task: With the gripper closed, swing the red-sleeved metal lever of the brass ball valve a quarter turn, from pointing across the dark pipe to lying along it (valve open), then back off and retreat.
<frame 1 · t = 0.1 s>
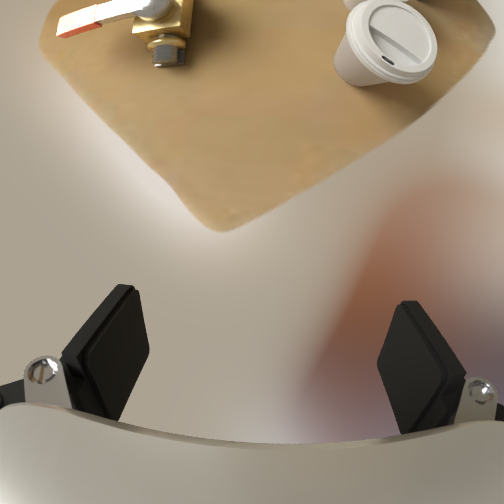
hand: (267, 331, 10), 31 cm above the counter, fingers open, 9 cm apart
lever: (110, 12, 22), point 9 cm above the counter, hinge at 0.0°
dixie cup: (361, 3, 27), on the counter
coffee cup: (356, 65, 32), on the counter
valve body: (174, 26, 30), on the counter
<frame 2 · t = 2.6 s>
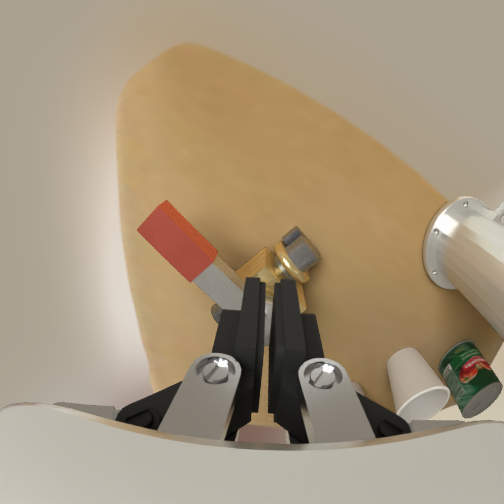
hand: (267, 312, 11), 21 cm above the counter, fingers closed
canned tomato: (456, 357, 39), on the counter
lever: (218, 280, 24), point 9 cm above the counter, hinge at 0.0°
dixie cup: (402, 360, 39), on the counter
valve body: (263, 273, 34), on the counter
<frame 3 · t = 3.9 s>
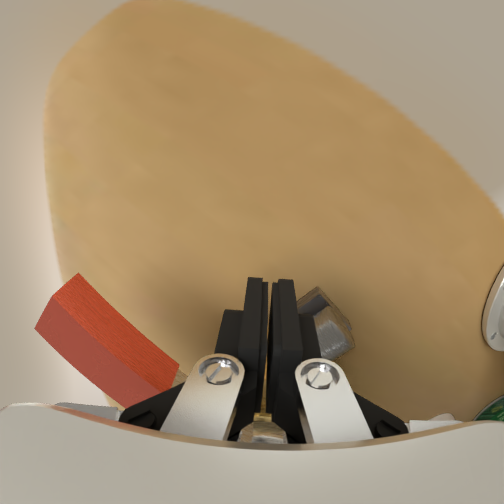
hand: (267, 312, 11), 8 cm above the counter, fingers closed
canned tomato: (490, 411, 26), on the counter
lever: (182, 409, 12), point 9 cm above the counter, hinge at 0.0°
valve body: (264, 350, 22), on the counter
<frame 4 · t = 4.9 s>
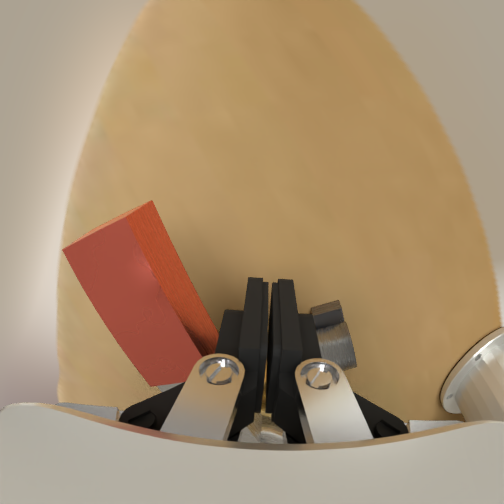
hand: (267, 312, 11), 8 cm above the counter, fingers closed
lever: (205, 390, 11), point 9 cm above the counter, hinge at 1.9°, touching gripper
valve body: (258, 344, 21), on the counter
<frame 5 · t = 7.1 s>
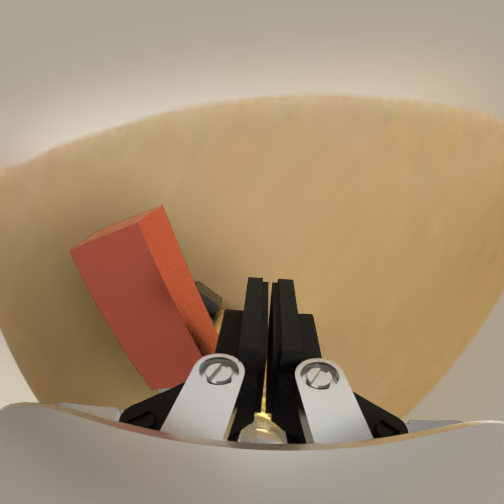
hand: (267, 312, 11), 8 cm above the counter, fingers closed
lever: (204, 394, 11), point 9 cm above the counter, hinge at 57.6°, touching gripper
valve body: (254, 348, 22), on the counter
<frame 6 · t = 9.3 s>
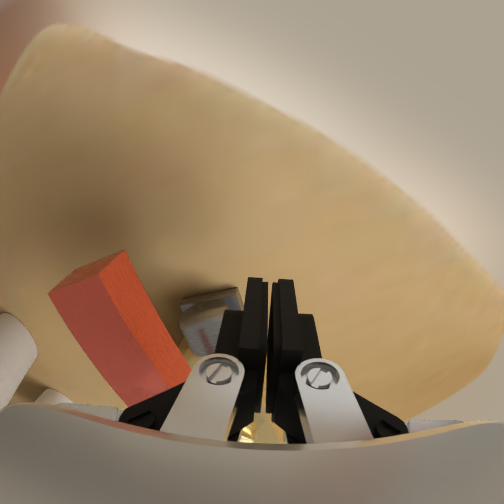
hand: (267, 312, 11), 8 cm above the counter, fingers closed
lever: (177, 411, 12), point 9 cm above the counter, hinge at 94.3°
dixie cup: (62, 402, 28), on the counter
coffee cup: (18, 335, 24), on the counter
valve body: (236, 361, 22), on the counter
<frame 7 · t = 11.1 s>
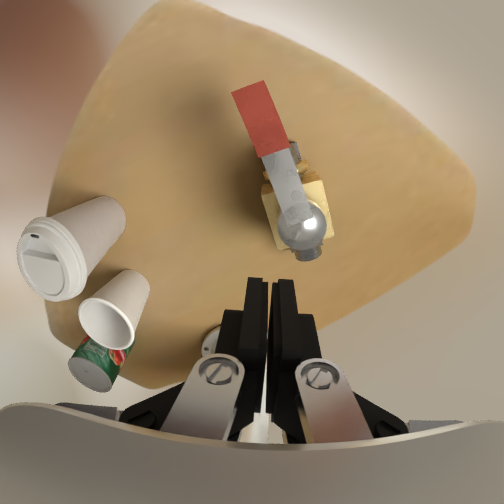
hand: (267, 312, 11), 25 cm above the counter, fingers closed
canned tomato: (115, 332, 47), on the counter
lever: (281, 168, 24), point 9 cm above the counter, hinge at 94.3°
dixie cup: (133, 285, 42), on the counter
coffee cup: (107, 217, 37), on the counter
valve body: (293, 197, 35), on the counter
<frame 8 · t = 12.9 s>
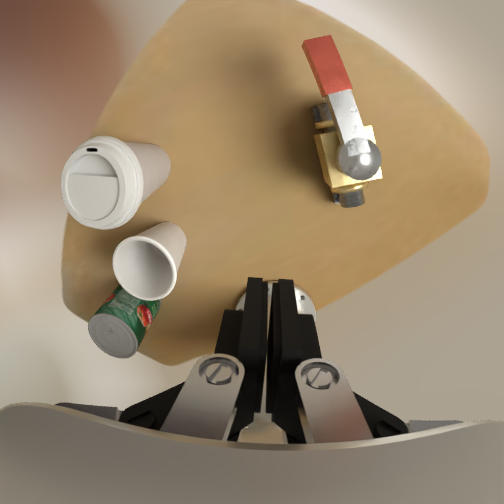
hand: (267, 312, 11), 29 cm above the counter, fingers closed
canned tomato: (139, 296, 46), on the counter
lever: (342, 107, 25), point 9 cm above the counter, hinge at 94.3°
dixie cup: (168, 240, 42), on the counter
coffee cup: (149, 166, 38), on the counter
valve body: (337, 152, 36), on the counter
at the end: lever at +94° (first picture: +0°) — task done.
